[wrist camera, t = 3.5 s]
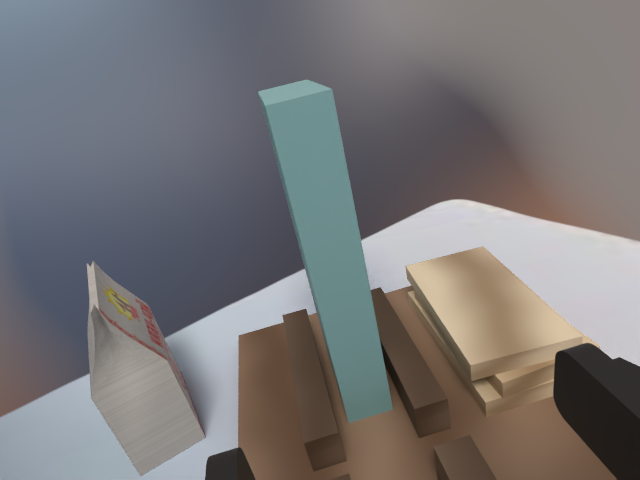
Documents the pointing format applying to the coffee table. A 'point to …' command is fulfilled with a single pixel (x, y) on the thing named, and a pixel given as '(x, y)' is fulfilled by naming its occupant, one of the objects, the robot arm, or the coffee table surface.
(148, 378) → the tea bag
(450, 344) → the pine offcuts
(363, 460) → the walnut rack
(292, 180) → the teal panel
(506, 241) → the coffee table surface
